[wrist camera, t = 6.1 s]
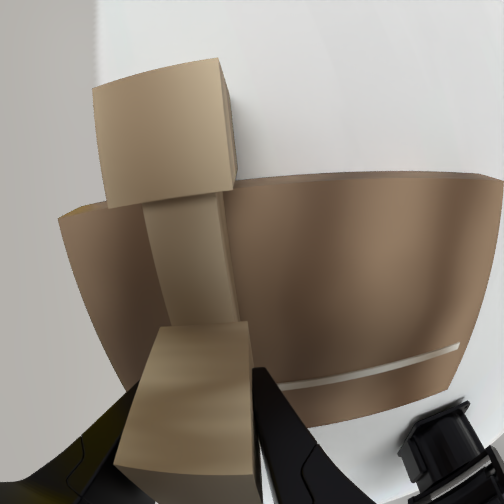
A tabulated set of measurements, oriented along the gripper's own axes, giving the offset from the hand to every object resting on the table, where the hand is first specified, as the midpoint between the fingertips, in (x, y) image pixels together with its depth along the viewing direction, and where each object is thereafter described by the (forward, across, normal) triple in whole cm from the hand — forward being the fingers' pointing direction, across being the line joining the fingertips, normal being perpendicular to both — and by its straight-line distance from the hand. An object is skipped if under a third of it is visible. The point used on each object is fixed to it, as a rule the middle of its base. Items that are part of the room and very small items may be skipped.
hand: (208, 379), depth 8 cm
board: (+5, -4, +2) cm, 7 cm away
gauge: (+3, 0, +4) cm, 5 cm away
